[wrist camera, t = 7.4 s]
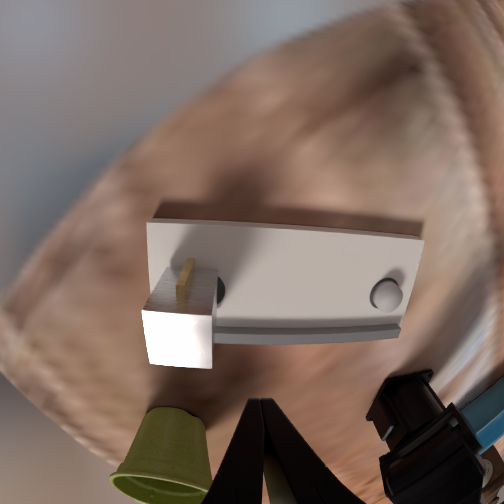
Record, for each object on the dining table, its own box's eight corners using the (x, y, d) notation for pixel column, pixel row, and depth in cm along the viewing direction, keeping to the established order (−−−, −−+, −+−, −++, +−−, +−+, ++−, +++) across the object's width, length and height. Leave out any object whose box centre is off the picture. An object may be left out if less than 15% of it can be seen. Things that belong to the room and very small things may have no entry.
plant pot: (214, 393, 21) (211, 481, 13) (228, 446, 24) (229, 513, 16) (116, 390, 21) (88, 464, 13) (147, 443, 24) (134, 504, 16)
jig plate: (415, 235, 18) (432, 244, 15) (389, 329, 20) (401, 344, 18) (152, 218, 16) (141, 226, 14) (159, 328, 19) (152, 346, 17)
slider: (218, 257, 16) (211, 301, 11) (216, 314, 17) (212, 368, 12) (166, 255, 15) (140, 295, 11) (169, 311, 17) (150, 363, 12)
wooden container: (469, 443, 36) (502, 500, 16) (494, 429, 38) (525, 477, 17) (434, 475, 41) (459, 528, 20) (463, 461, 43) (488, 507, 22)
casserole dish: (548, 321, 25) (569, 338, 19) (520, 389, 33) (534, 406, 26) (401, 436, 28) (419, 472, 21) (395, 477, 35) (405, 502, 28)
